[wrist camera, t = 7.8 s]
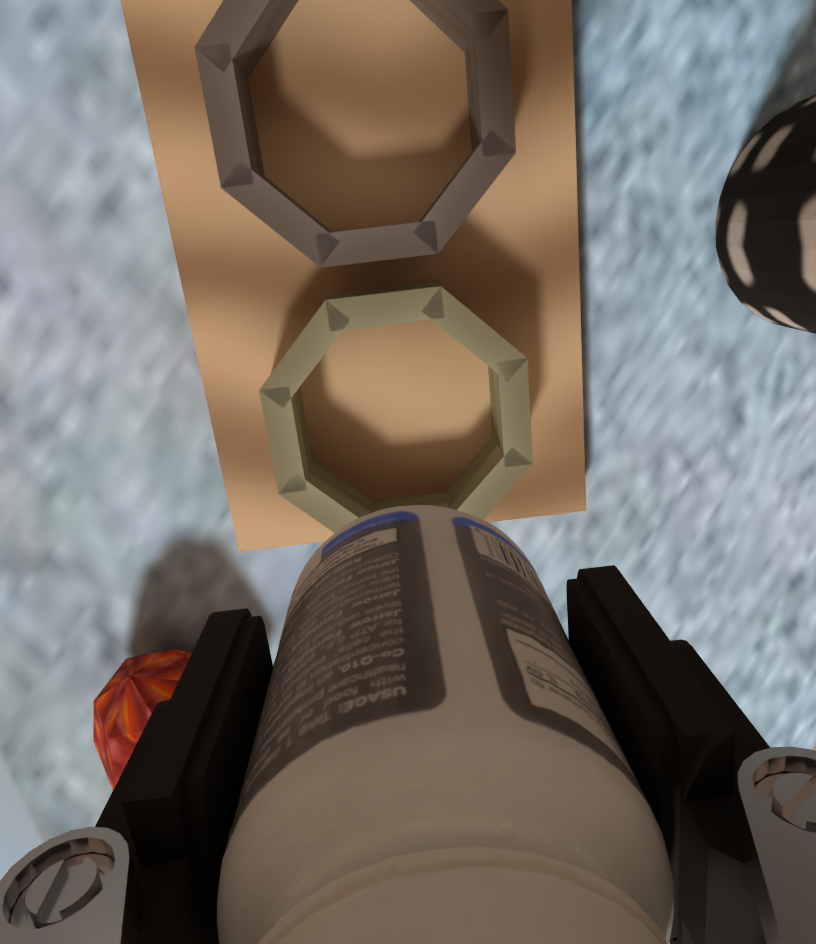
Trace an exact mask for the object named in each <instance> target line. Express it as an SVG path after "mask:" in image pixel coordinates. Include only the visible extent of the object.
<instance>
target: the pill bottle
mask: <svg viewBox="0 0 816 944" xmlns="http://www.w3.org/2000/svg"><path fill="white" fill-rule="evenodd" d="M673 916H674V892H673V878H672V872H671V867H670V862H669V858H668V854H667V850H666V846H665V842H664V838H663V835H662V832H661V829H660V827H659V824H658V822H657V820H656V817H655V815H654V812H653V810H652V808H651V806H650V804H649V802H648V801H647V799H646V797H645V795H644V793H643V791H642V789H641V788H640V786H639V784H638V782H637V780H636V777H635V775H634V773H633V771H632V769H631V767H630V765H629V763H628V761H627V759H626V757H625V755H624V753H623V751H622V749H621V747H620V745H619V743H618V741H617V739H616V737H615V735H614V733H613V731H612V729H611V727H610V725H609V723H608V721H607V719H606V717H605V715H604V713H603V711H602V709H601V707H600V705H599V703H598V701H597V698H596V696H595V693H594V691H593V689H592V687H591V685H590V683H589V682H588V680H587V678H586V676H585V674H584V672H583V669H582V667H581V665H580V663H579V661H578V660H577V658H576V656H575V653H574V651H573V649H572V647H571V645H570V642H569V640H568V638H567V636H566V634H565V632H564V629H563V627H562V625H561V624H560V621H559V619H558V617H557V614H556V612H555V610H554V608H553V606H552V604H551V602H550V600H549V598H548V596H547V594H546V592H545V589H544V587H543V585H542V583H541V581H540V579H539V577H538V576H537V573H536V571H535V570H534V568H533V566H532V565H531V563H530V561H529V560H528V559H527V557H526V556H525V554H524V553H523V552H522V551H521V550H520V548H519V547H518V546H517V545H516V544H515V543H514V542H513V541H512V540H511V539H510V538H509V537H508V536H507V535H506V534H505V533H503V532H502V531H501V530H499V529H498V528H496V527H495V526H493V525H492V524H490V523H488V522H486V521H484V520H481V519H479V518H477V517H475V516H472V515H470V514H467V513H465V512H461V511H457V510H454V509H450V508H444V507H438V506H431V505H413V506H398V507H391V508H386V509H382V510H379V511H376V512H373V513H371V514H367V515H364V516H362V517H360V518H358V519H356V520H354V521H352V522H350V523H348V524H347V525H345V526H344V527H343V528H341V529H340V530H338V531H337V532H336V533H334V534H333V535H332V536H331V537H330V538H328V539H327V540H326V541H325V542H324V543H323V544H322V545H321V546H320V547H319V548H318V549H317V550H316V552H315V553H314V554H313V555H312V557H311V558H310V559H309V561H308V562H307V563H306V565H305V567H304V569H303V571H302V573H301V575H300V577H299V579H298V581H297V584H296V586H295V589H294V591H293V594H292V597H291V601H290V604H289V607H288V611H287V615H286V619H285V623H284V627H283V631H282V635H281V638H280V643H279V648H278V652H277V656H276V659H275V662H274V666H273V670H272V673H271V677H270V681H269V685H268V688H267V692H266V696H265V700H264V704H263V709H262V712H261V715H260V719H259V723H258V727H257V731H256V735H255V739H254V743H253V747H252V751H251V755H250V759H249V763H248V767H247V770H246V773H245V777H244V782H243V786H242V789H241V791H240V796H239V802H238V806H237V809H236V813H235V817H234V821H233V824H232V827H231V829H230V832H229V836H228V840H227V845H226V849H225V853H224V856H223V859H222V865H221V871H220V880H219V889H218V899H217V929H218V937H219V944H669V941H670V936H671V930H672V923H673Z"/></svg>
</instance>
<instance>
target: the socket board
mask: <svg viewBox="0 0 816 944" xmlns="http://www.w3.org/2000/svg"><path fill="white" fill-rule="evenodd" d="M121 4H122V9H123V13H124V18H125V23H126V27H127V32H128V37H129V41H130V46H131V50H132V55H133V60H134V64H135V69H136V74H137V78H138V83H139V88H140V92H141V97H142V102H143V106H144V111H145V116H146V120H147V125H148V130H149V134H150V139H151V144H152V148H153V153H154V158H155V162H156V167H157V171H158V176H159V181H160V185H161V190H162V195H163V199H164V204H165V209H166V213H167V218H168V223H169V227H170V232H171V237H172V241H173V246H174V251H175V255H176V260H177V265H178V269H179V274H180V279H181V283H182V288H183V293H184V297H185V302H186V306H187V311H188V316H189V320H190V325H191V330H192V334H193V339H194V344H195V348H196V353H197V358H198V362H199V367H200V372H201V376H202V381H203V386H204V390H205V395H206V400H207V404H208V409H209V414H210V418H211V423H212V427H213V432H214V437H215V441H216V446H217V451H218V455H219V460H220V465H221V469H222V474H223V479H224V483H225V488H226V493H227V497H228V502H229V507H230V511H231V516H232V521H233V525H234V530H235V535H236V539H237V544H238V548H239V552H240V551H248V550H257V549H265V548H274V547H282V546H291V545H299V544H308V543H316V542H325V541H326V540H327V539H328V538H330V537H331V536H332V535H333V534H334V533H336V532H337V531H338V530H340V529H341V528H343V527H344V526H345V525H347V524H348V523H350V522H352V521H354V520H356V519H358V518H360V517H362V516H364V515H367V514H371V513H373V512H376V511H379V510H382V509H386V508H391V507H398V506H413V505H431V506H438V507H444V508H450V509H454V510H457V511H461V512H465V513H467V514H470V515H472V516H475V517H477V518H479V519H481V520H484V521H486V522H494V521H503V520H511V519H520V518H528V517H536V516H545V515H553V514H562V513H570V512H579V511H586V487H585V452H584V417H583V381H582V346H581V310H580V275H579V240H578V204H577V169H576V134H575V98H574V63H573V27H572V0H121Z"/></svg>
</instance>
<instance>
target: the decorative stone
mask: <svg viewBox="0 0 816 944" xmlns="http://www.w3.org/2000/svg"><path fill="white" fill-rule="evenodd" d="M191 654H192V652H188V651H182V650H176V649H170V650H165V651H160V652H155V653H150V654H146V655H141V656H136V657H131V658H126V660H125V661H124V662H123V663H122V665H121V666H120V667H119V669H118V670H117V671H116V673H115V674H114V675H113V677H112V678H111V679H110V681H109V682H108V683H107V684H106V686H105V687H104V688H103V690H102V691H101V692H100V694H99V695H98V696H97V698H96V699H95V700H94V743H95V745H96V748H97V751H98V753H99V756H100V758H101V761H102V763H103V766H104V768H105V771H106V774H107V776H108V779H109V781H110V784H111V786H112V789H113V790H114V788H115V786H116V784H117V782H118V780H119V778H120V776H121V774H122V772H123V770H124V768H125V766H126V764H127V762H128V760H129V758H130V756H131V754H132V752H133V750H134V748H135V746H136V744H137V742H138V740H139V738H140V736H141V734H142V732H143V730H144V728H145V726H146V724H147V722H148V720H149V718H150V716H151V714H152V712H153V710H154V708H155V707H156V705H157V704H158V703H159V702H161V701H163V700H169V699H170V698H171V696H172V694H173V692H174V690H175V688H176V686H177V684H178V681H179V679H180V677H181V675H182V673H183V671H184V669H185V667H186V665H187V662H188V660H189V658H190V656H191Z"/></svg>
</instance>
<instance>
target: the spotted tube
mask: <svg viewBox="0 0 816 944" xmlns="http://www.w3.org/2000/svg"><path fill="white" fill-rule="evenodd" d="M716 248H717V253H718V258H719V263H720V267H721V270H722V272H723V274H724V276H725V279H726V281H727V283H728V285H729V287H730V288H731V290H732V291H733V292H734V294H735V295H736V296H737V298H738V299H739V301H740V302H741V303H742V304H743V305H745V306H746V307H747V308H748V309H749V310H751V311H752V312H753V313H754V314H755V315H757V316H759V317H761V318H763V319H765V320H767V321H769V322H771V323H773V324H777V325H781V326H785V327H789V328H794V329H798V330H803V331H807V332H811V333H816V95H815V96H812V97H810V98H807V99H805V100H802V101H800V102H797V103H795V104H794V105H792V106H791V107H789V108H788V109H786V110H784V111H783V112H781V113H780V114H778V115H776V116H775V117H774V118H773V119H772V120H771V121H770V122H768V123H767V124H766V125H765V126H764V127H763V128H762V129H761V130H760V131H759V132H757V133H756V135H755V136H754V137H753V138H752V140H751V141H750V142H749V143H748V145H747V146H746V147H745V149H744V150H743V151H742V152H741V154H740V155H739V157H738V159H737V161H736V163H735V164H734V166H733V168H732V170H731V172H730V173H729V175H728V177H727V180H726V183H725V186H724V189H723V192H722V195H721V197H720V201H719V207H718V213H717V219H716Z"/></svg>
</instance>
